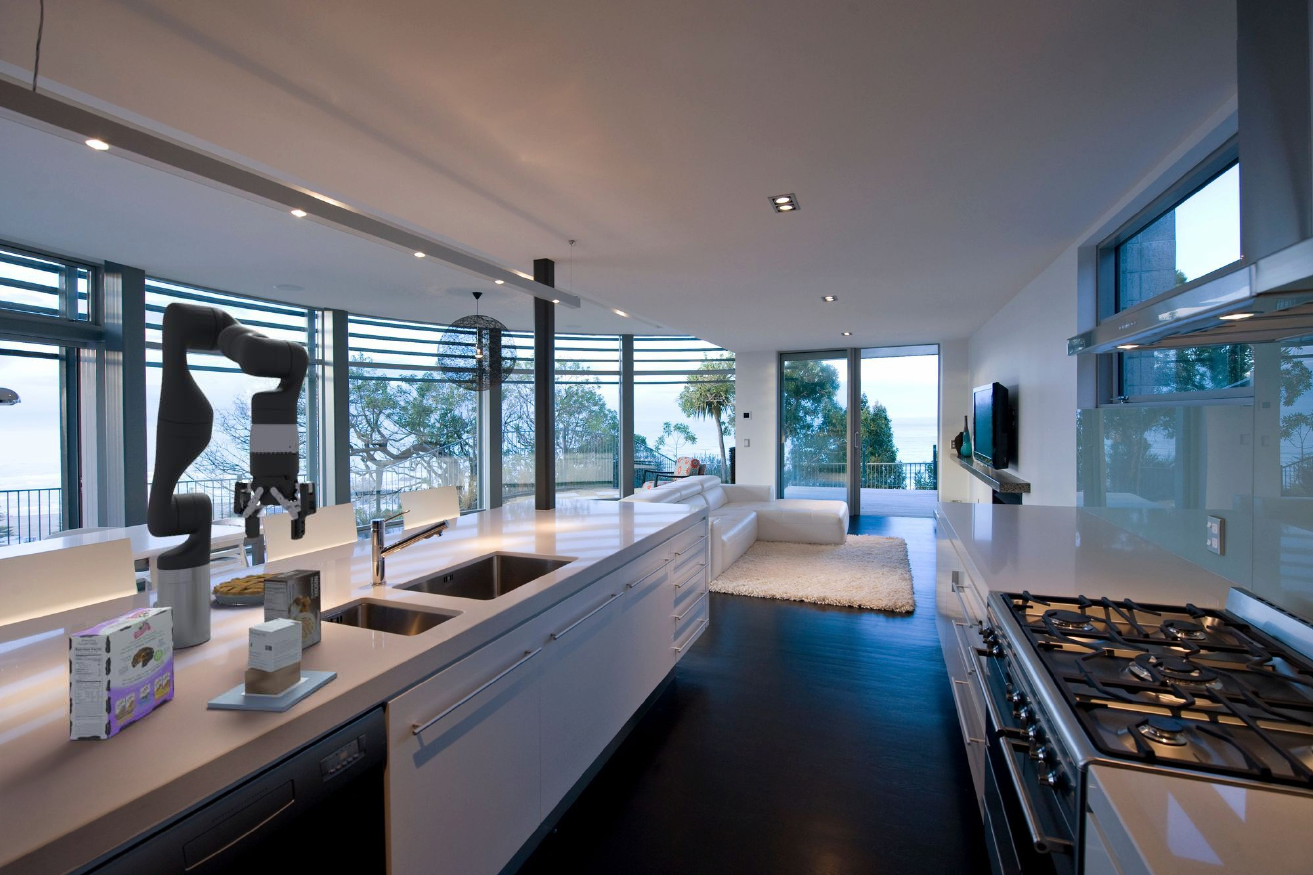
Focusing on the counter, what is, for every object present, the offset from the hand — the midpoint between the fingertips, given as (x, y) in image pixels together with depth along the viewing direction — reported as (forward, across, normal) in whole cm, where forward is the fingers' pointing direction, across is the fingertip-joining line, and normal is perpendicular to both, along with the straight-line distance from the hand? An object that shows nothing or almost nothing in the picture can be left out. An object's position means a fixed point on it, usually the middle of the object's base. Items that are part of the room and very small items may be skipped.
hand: (275, 538), depth 105 cm
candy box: (+28, -17, -12) cm, 35 cm away
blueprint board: (+28, 0, 0) cm, 28 cm away
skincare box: (+23, 0, 0) cm, 23 cm away
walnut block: (+27, 0, 0) cm, 27 cm away
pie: (+28, -49, +55) cm, 79 cm away
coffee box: (+28, -12, +20) cm, 37 cm away
